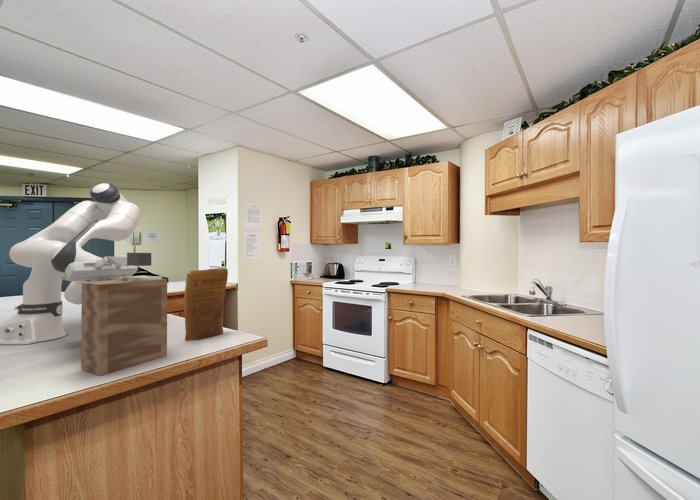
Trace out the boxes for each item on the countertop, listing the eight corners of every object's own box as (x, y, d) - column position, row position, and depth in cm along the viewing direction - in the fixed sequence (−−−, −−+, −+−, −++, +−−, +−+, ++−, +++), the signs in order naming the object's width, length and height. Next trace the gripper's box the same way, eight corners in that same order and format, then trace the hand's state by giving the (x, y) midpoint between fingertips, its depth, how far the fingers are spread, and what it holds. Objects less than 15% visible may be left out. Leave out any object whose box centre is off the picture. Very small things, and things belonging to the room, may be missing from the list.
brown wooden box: (81, 369, 96) (81, 280, 96) (148, 350, 114) (149, 275, 114) (99, 376, 91) (99, 281, 91) (166, 355, 109) (167, 276, 109)
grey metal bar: (101, 263, 108) (101, 251, 108) (114, 263, 112) (114, 251, 112) (138, 266, 99) (138, 252, 99) (151, 265, 102) (151, 252, 102)
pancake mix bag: (231, 333, 138) (232, 268, 138) (186, 343, 123) (187, 270, 123) (223, 330, 142) (223, 267, 142) (178, 340, 127) (179, 269, 127)
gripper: (55, 271, 105) (74, 250, 100) (123, 268, 123) (142, 250, 118) (60, 288, 104) (79, 268, 98) (128, 283, 122) (147, 266, 117)
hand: (114, 259), depth 108 cm, fingers closed on grey metal bar, 2 cm apart
